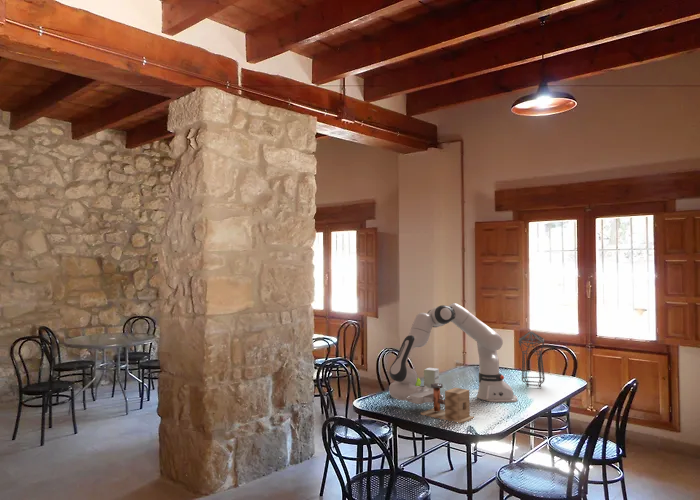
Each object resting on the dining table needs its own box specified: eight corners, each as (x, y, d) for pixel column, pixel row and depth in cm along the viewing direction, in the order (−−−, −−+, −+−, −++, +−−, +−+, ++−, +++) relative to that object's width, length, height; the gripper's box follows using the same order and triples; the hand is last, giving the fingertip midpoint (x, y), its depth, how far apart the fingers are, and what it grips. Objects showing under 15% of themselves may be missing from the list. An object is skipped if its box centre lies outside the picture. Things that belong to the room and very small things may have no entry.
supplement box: (434, 391, 311) (434, 370, 311) (423, 389, 315) (423, 369, 315) (439, 388, 317) (439, 368, 318) (428, 387, 321) (428, 367, 322)
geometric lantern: (546, 390, 313) (544, 333, 314) (519, 389, 318) (517, 332, 319) (546, 384, 327) (544, 330, 328) (521, 383, 333) (518, 329, 334)
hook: (428, 410, 262) (428, 384, 262) (435, 408, 266) (434, 382, 267) (459, 417, 250) (459, 390, 250) (465, 414, 254) (465, 388, 255)
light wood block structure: (420, 414, 262) (420, 387, 262) (433, 409, 271) (433, 383, 271) (462, 424, 246) (461, 394, 246) (474, 418, 255) (474, 390, 255)
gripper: (404, 392, 264) (426, 396, 254) (426, 385, 279) (448, 389, 270) (404, 404, 263) (426, 409, 254) (426, 396, 279) (448, 401, 269)
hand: (438, 398), depth 262 cm, fingers open, 8 cm apart
